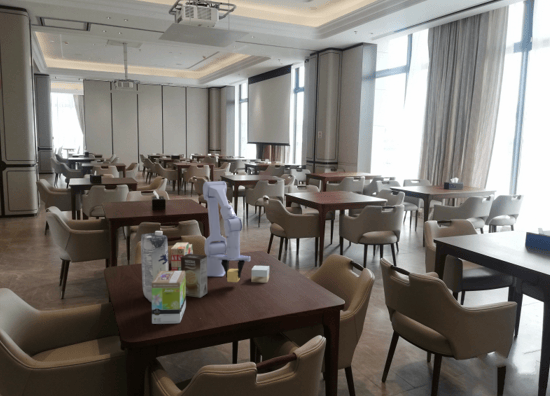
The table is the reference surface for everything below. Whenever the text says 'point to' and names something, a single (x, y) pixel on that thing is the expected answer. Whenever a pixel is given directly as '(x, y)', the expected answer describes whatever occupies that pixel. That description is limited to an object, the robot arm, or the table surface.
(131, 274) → the table surface
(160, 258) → the juice carton
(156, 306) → the tea box
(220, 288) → the table surface
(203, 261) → the coffee box
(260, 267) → the grey-blue slab
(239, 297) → the table surface
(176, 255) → the red cream box
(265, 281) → the birch slab
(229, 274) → the mustard cube
